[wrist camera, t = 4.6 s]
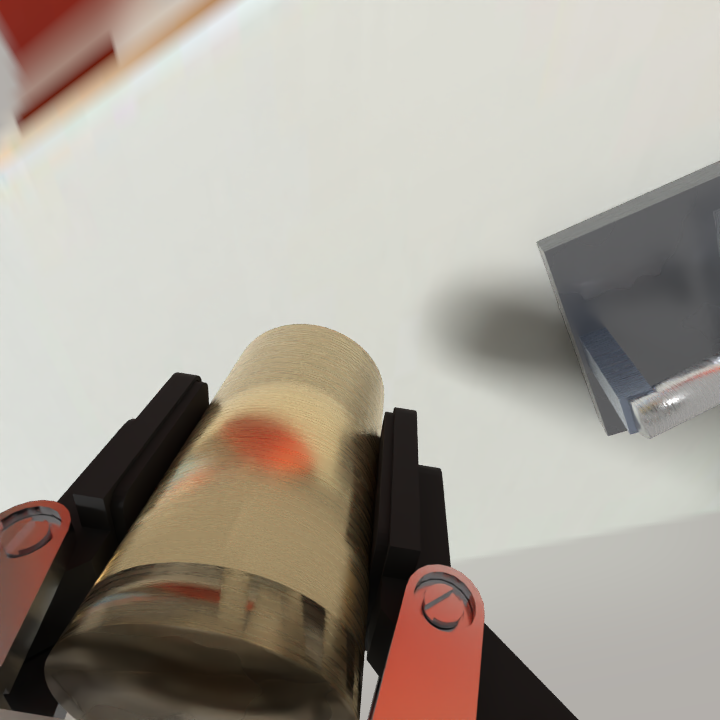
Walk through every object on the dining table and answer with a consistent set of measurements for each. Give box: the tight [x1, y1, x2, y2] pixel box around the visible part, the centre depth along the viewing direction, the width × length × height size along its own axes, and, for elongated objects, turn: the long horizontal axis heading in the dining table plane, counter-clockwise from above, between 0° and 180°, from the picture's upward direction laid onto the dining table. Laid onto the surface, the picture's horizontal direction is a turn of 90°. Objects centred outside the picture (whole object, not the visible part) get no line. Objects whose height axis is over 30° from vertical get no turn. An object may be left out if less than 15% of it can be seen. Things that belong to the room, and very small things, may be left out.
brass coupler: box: [44, 324, 384, 720], centre depth 10 cm, size 4×4×8 cm
